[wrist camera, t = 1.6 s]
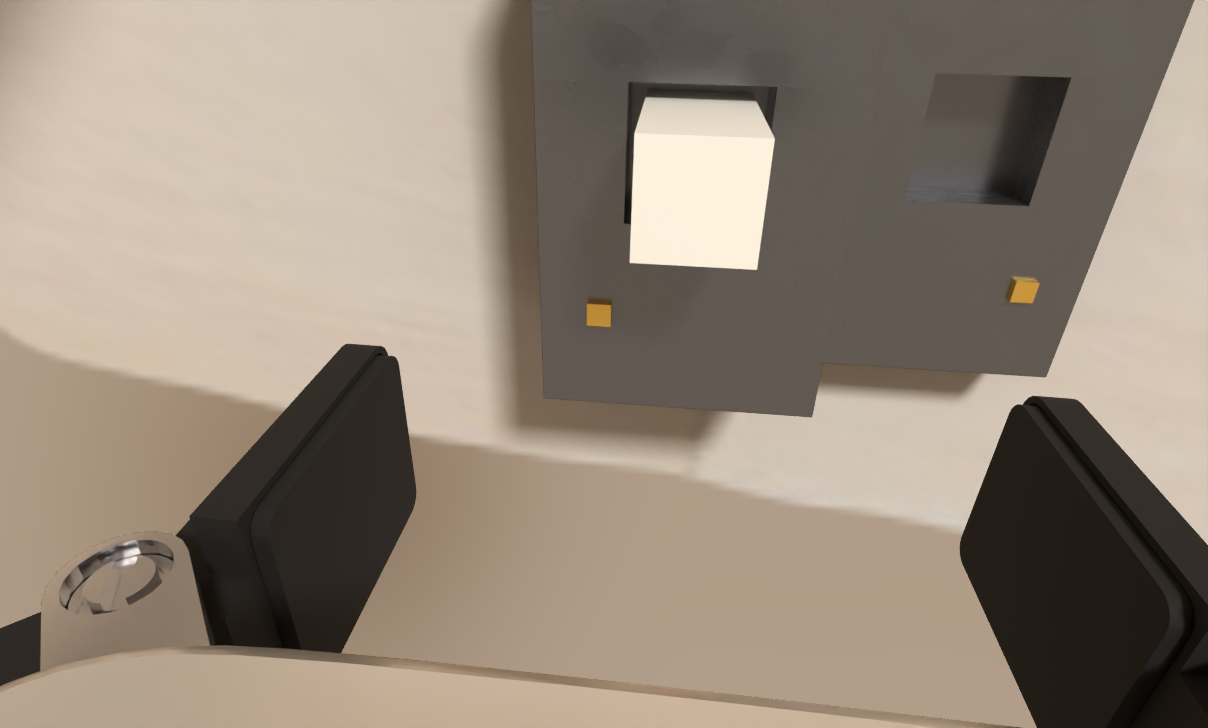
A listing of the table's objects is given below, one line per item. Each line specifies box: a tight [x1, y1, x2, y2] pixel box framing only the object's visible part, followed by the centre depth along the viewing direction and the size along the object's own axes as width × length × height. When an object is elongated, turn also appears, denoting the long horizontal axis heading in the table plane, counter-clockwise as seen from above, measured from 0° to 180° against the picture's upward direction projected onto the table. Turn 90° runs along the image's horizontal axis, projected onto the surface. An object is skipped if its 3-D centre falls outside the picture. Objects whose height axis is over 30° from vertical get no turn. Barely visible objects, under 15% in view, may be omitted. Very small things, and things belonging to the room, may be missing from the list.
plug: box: [630, 89, 775, 270], centre depth 25 cm, size 4×4×8 cm
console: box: [531, 0, 1194, 417], centre depth 29 cm, size 22×24×9 cm
